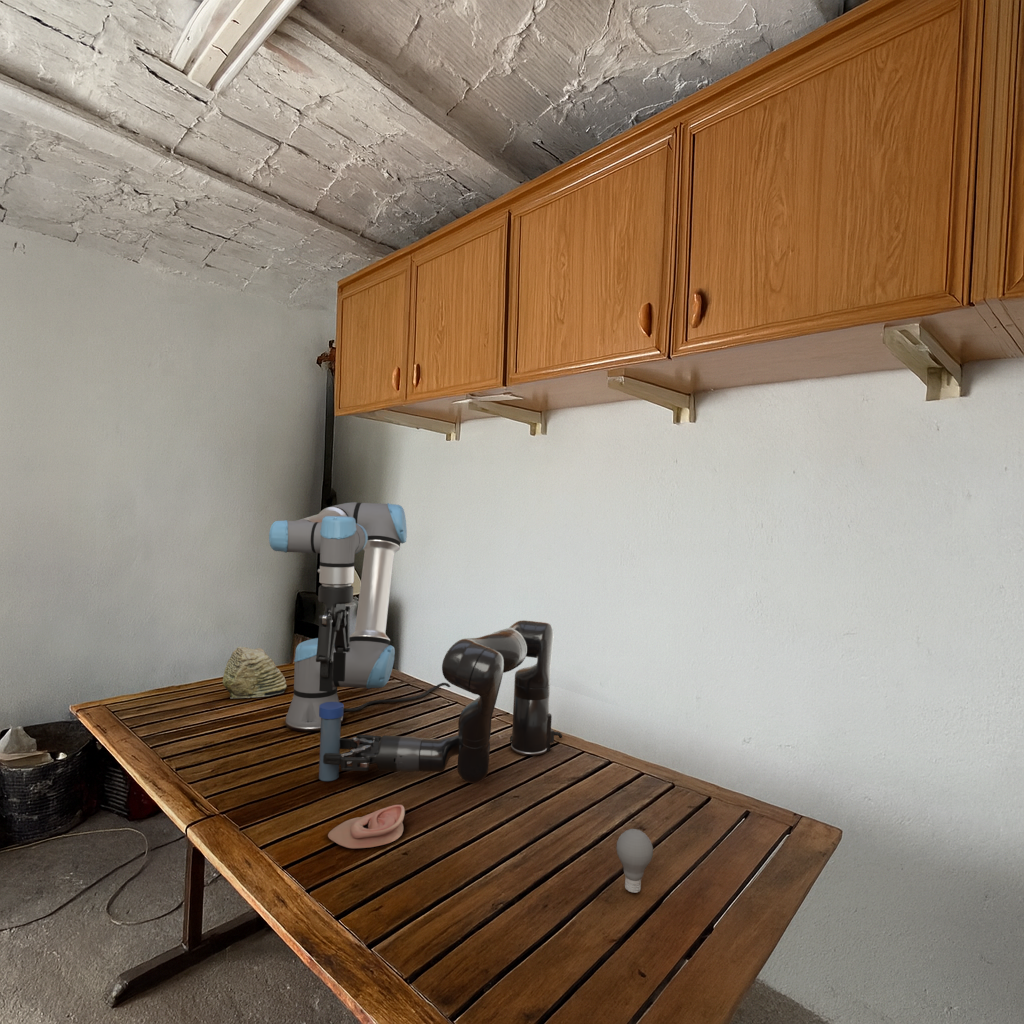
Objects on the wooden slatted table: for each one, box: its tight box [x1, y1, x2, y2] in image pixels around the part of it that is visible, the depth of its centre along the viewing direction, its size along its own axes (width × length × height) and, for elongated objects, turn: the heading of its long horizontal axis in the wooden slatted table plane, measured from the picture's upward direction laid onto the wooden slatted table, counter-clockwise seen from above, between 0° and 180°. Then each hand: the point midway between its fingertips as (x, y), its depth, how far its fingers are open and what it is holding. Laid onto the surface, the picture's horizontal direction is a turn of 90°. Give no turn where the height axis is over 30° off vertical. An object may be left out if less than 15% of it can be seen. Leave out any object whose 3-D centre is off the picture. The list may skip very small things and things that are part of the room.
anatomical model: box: [327, 804, 406, 849], centre depth 120 cm, size 13×4×12 cm
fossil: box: [222, 646, 288, 699], centre depth 198 cm, size 9×18×15 cm, turn 132°
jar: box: [318, 717, 342, 782], centre depth 143 cm, size 4×4×16 cm
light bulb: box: [615, 828, 654, 894], centre depth 106 cm, size 6×6×10 cm
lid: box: [319, 701, 345, 719], centre depth 143 cm, size 5×5×2 cm
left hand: (332, 685), depth 143 cm, fingers open, 7 cm apart
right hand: (329, 750), depth 143 cm, fingers open, 8 cm apart
